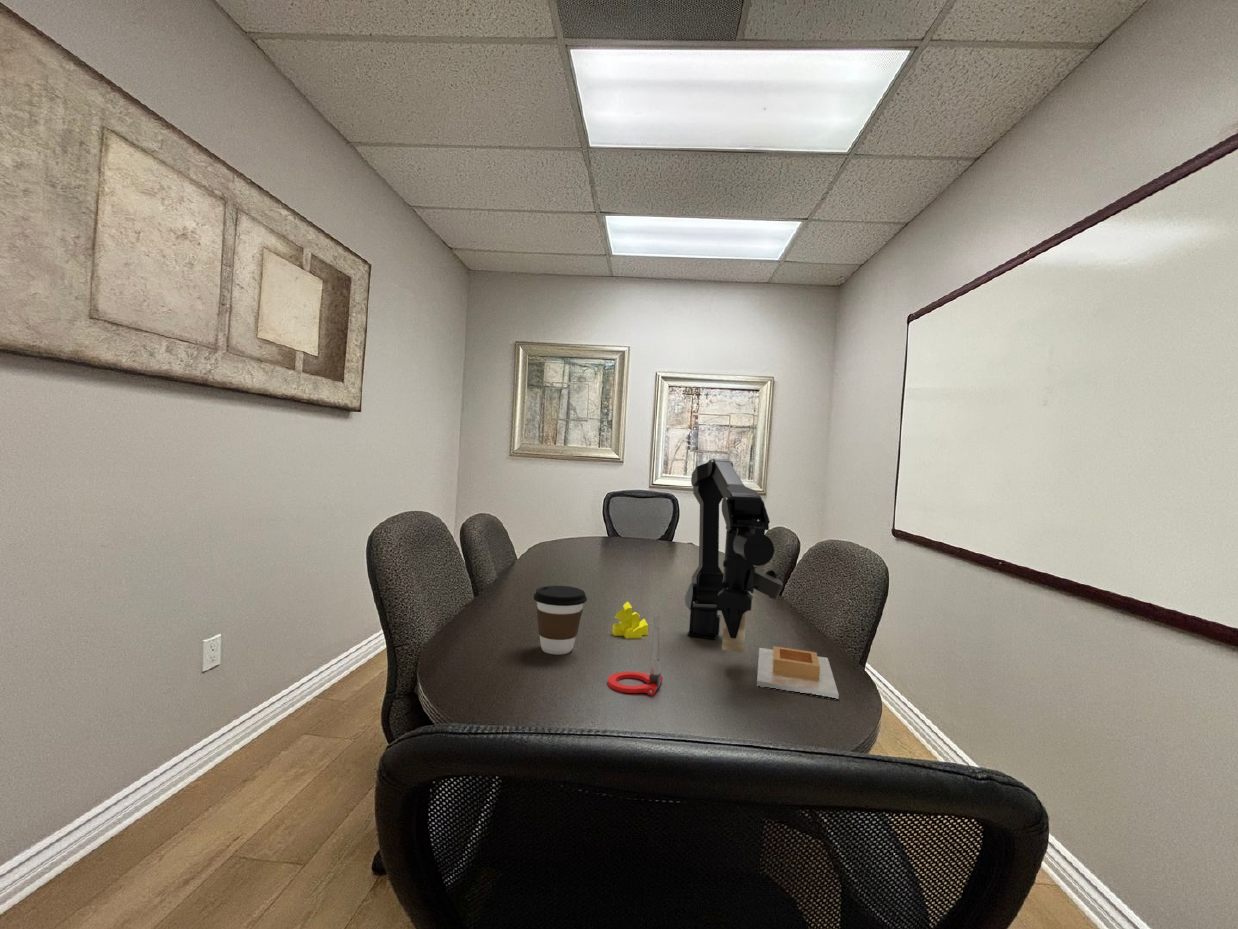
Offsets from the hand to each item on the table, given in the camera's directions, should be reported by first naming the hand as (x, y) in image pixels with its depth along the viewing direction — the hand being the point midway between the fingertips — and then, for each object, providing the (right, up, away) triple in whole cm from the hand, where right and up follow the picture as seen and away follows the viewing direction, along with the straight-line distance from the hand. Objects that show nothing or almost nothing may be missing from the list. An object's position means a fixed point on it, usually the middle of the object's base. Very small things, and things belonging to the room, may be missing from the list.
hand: (734, 635), depth 110 cm
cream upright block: (0, -3, 0) cm, 3 cm away
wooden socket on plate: (+12, -8, 0) cm, 14 cm away
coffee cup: (-35, -5, +5) cm, 36 cm away
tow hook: (-20, -6, -11) cm, 24 cm away
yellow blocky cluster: (-20, -6, +18) cm, 28 cm away
